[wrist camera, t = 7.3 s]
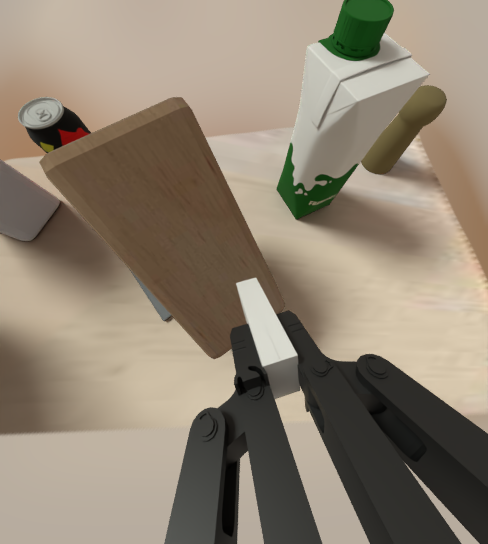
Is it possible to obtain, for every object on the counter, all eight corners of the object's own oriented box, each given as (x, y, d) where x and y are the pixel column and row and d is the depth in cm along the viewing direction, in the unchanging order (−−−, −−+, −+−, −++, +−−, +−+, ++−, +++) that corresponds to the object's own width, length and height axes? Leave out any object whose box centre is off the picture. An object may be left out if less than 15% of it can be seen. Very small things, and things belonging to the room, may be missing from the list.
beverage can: (116, 165, 35) (53, 86, 23) (134, 186, 33) (76, 113, 22) (86, 183, 34) (3, 109, 22) (103, 205, 32) (25, 139, 21)
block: (291, 308, 20) (184, 82, 11) (213, 367, 18) (18, 155, 10) (253, 279, 29) (177, 140, 20) (199, 316, 27) (90, 183, 18)
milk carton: (309, 170, 35) (393, -21, 15) (336, 207, 32) (473, 38, 13) (269, 187, 34) (305, 4, 14) (294, 226, 31) (376, 73, 12)
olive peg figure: (391, 177, 34) (457, 112, 24) (359, 170, 35) (410, 102, 24) (393, 153, 36) (456, 82, 25) (362, 146, 36) (411, 74, 26)
